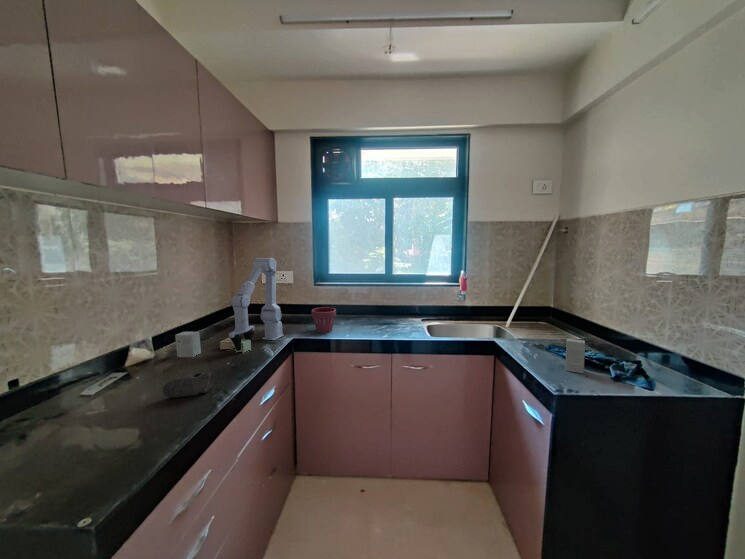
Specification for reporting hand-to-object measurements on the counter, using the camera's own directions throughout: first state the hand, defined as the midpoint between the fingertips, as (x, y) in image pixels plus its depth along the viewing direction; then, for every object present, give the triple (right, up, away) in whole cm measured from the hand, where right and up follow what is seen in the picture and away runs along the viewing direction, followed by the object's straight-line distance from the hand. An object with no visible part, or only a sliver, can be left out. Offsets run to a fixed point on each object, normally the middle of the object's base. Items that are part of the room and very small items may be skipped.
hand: (243, 348), depth 144 cm
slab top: (-9, +1, +5) cm, 10 cm away
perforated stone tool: (+1, -6, -43) cm, 43 cm away
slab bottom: (-9, -2, +5) cm, 10 cm away
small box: (-23, -2, -5) cm, 23 cm away
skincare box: (+141, -3, -26) cm, 143 cm away
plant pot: (+33, +2, +34) cm, 48 cm away
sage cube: (0, -2, 0) cm, 2 cm away
